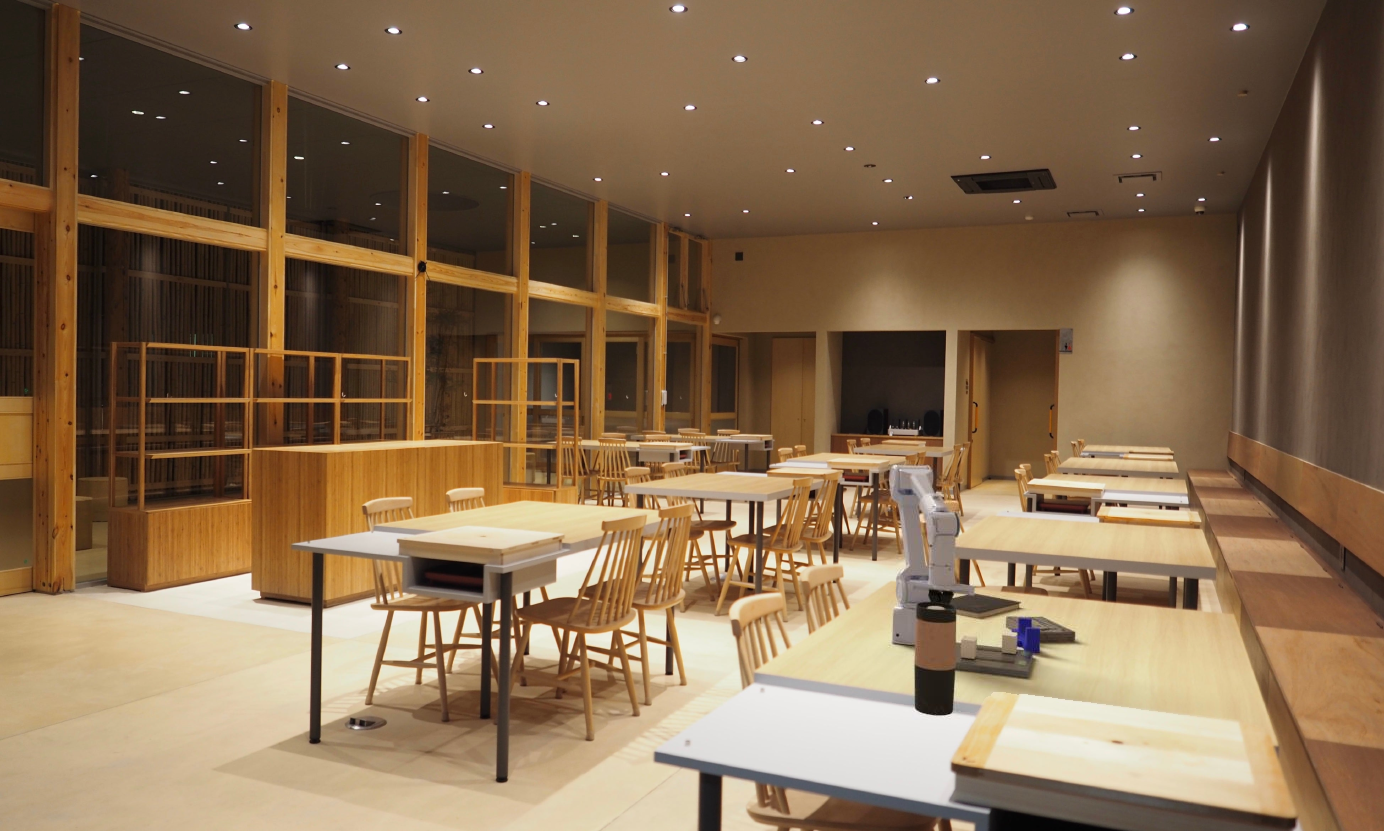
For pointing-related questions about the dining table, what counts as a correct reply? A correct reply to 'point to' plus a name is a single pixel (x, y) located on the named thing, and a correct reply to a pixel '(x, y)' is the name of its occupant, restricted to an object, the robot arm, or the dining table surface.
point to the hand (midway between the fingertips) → (940, 623)
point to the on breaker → (1009, 642)
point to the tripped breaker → (968, 647)
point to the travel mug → (935, 658)
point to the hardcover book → (982, 605)
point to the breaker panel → (996, 661)
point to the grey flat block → (1045, 629)
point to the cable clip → (1027, 635)
